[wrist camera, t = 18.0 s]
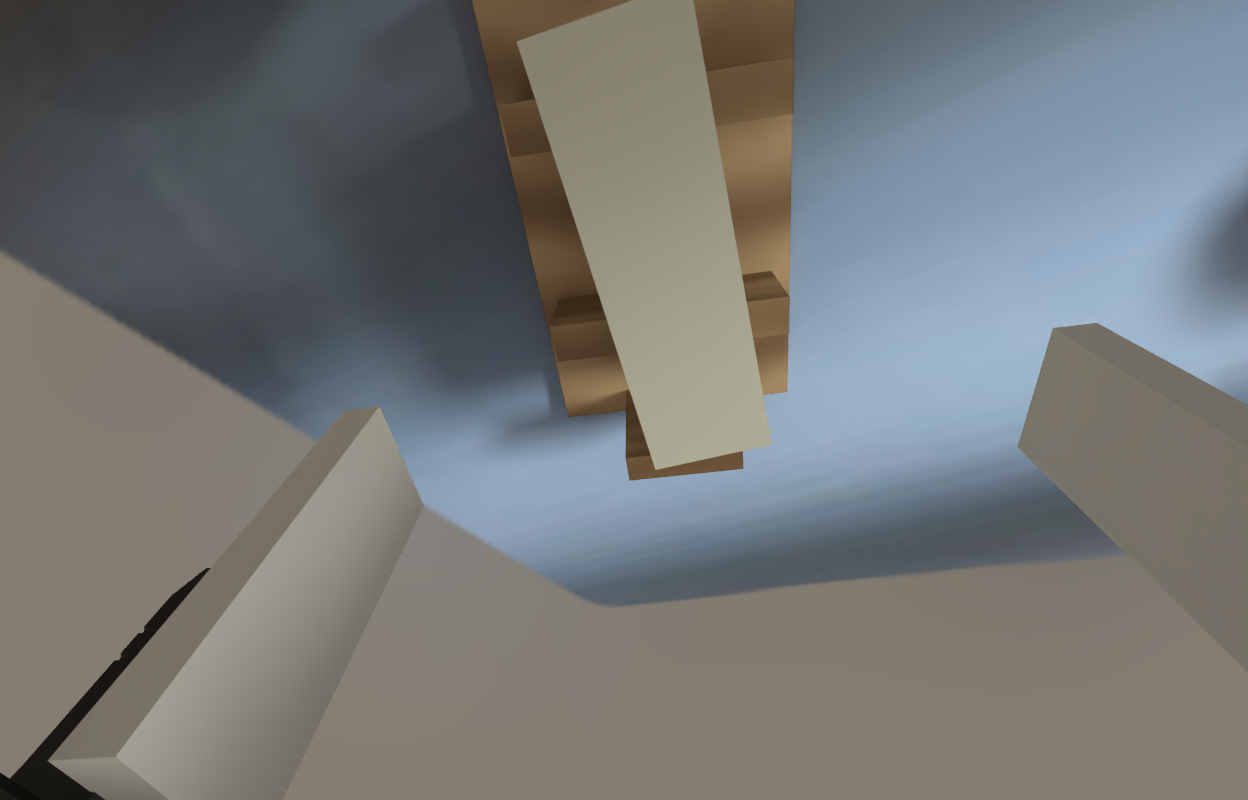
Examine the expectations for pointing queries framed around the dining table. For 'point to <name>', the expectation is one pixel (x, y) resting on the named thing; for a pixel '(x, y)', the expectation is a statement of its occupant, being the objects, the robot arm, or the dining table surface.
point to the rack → (754, 175)
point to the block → (654, 220)
